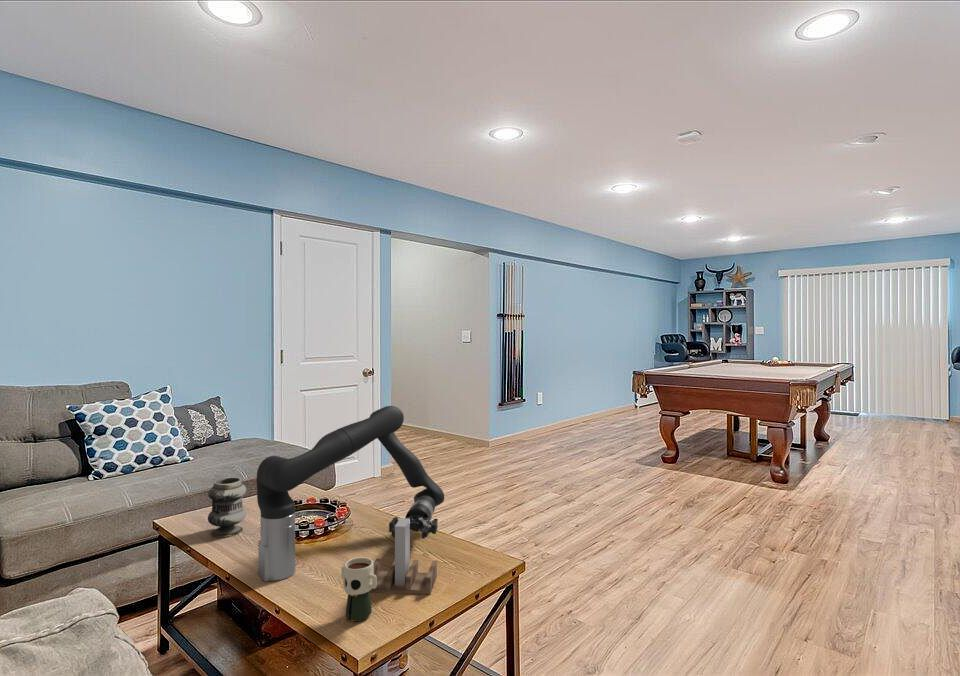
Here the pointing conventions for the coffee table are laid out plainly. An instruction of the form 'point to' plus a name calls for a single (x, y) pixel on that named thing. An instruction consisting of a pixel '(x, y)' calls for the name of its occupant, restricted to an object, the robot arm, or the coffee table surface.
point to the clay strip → (402, 551)
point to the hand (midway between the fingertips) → (408, 534)
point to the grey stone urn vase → (227, 506)
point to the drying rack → (414, 579)
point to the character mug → (358, 586)
